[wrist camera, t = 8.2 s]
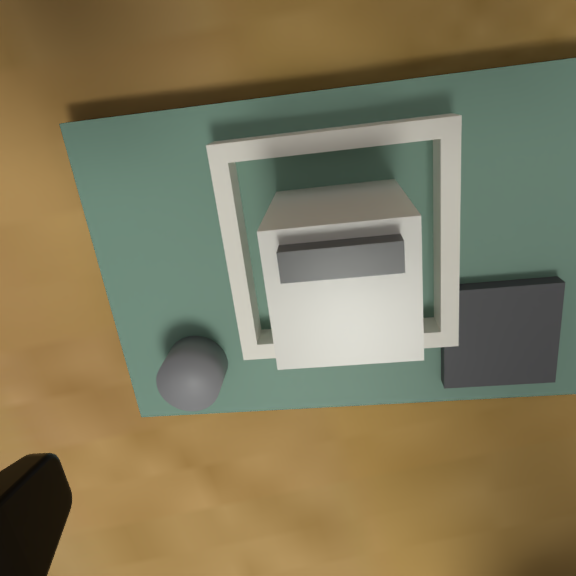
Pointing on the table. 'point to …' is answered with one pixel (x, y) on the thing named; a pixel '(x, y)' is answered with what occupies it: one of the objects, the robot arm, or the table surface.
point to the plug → (343, 275)
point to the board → (327, 172)
